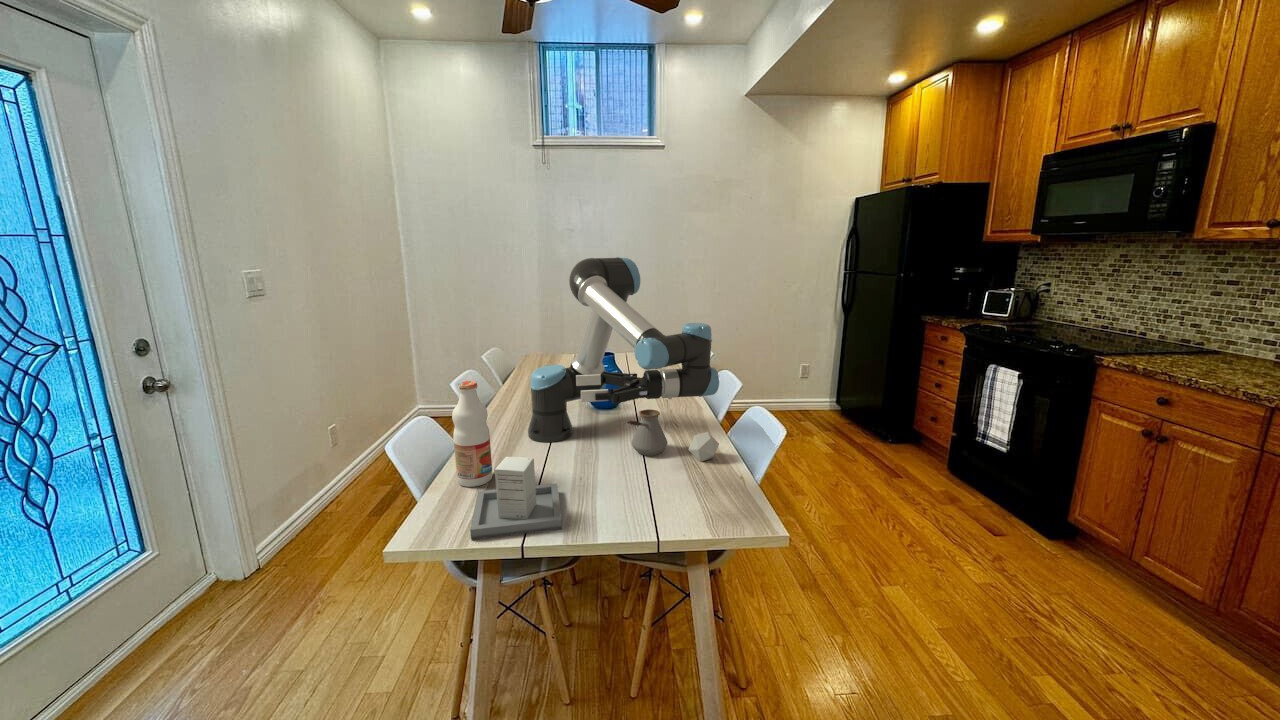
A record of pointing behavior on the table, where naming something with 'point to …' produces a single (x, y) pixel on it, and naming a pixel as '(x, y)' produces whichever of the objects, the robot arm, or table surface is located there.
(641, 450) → the coffee pot
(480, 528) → the tray
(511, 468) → the supplement box
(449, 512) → the table surface
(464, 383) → the fruit juice
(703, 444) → the die
